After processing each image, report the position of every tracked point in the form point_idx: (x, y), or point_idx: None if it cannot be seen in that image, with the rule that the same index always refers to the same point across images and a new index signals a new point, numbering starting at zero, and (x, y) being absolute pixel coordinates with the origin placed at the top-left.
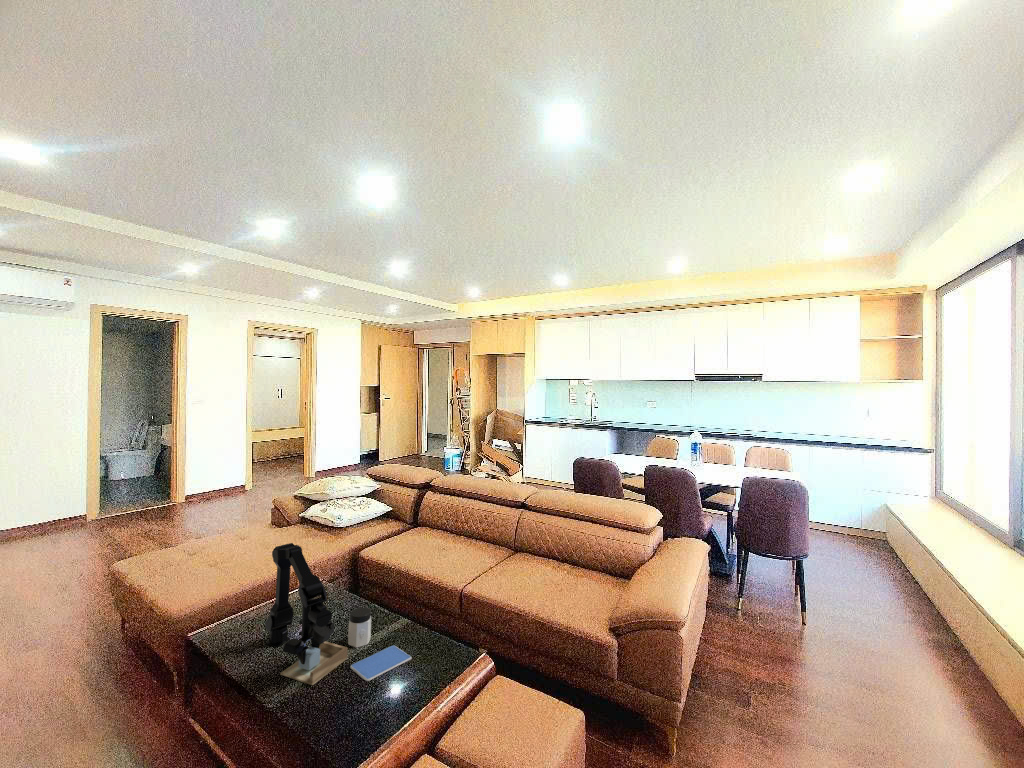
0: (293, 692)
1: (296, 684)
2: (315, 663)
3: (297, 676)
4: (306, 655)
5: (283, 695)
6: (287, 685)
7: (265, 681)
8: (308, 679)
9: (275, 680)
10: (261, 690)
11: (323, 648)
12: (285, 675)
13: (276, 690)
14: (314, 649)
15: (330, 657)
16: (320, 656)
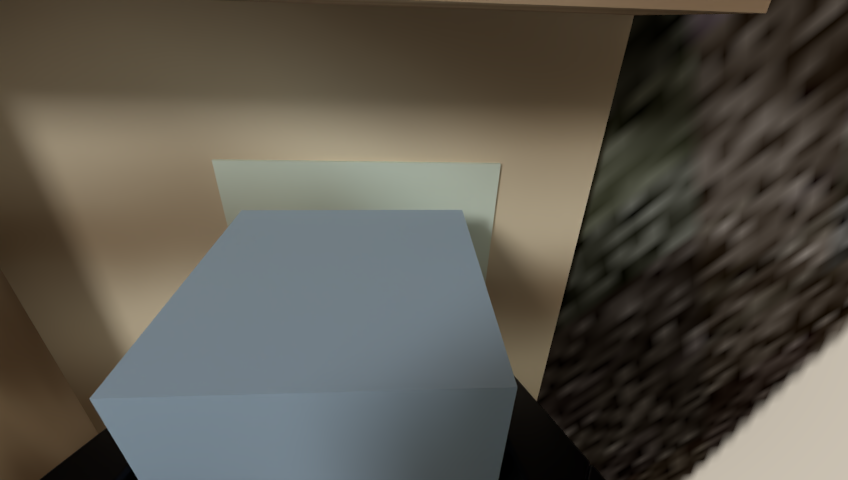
0: (793, 106)
1: (637, 191)
2: (330, 228)
3: (541, 273)
4: (503, 454)
5: (840, 174)
6: (663, 262)
7: (628, 434)
8: (567, 102)
9: (604, 392)
10: (743, 387)
11: (9, 387)
12: (538, 376)
13: (746, 293)
14: (222, 475)
15: (28, 197)
16: (124, 320)
